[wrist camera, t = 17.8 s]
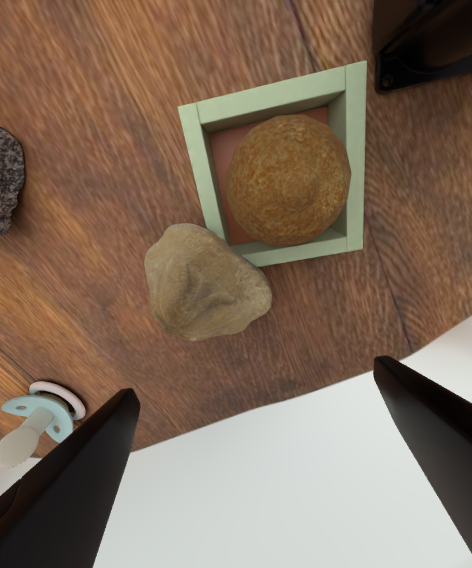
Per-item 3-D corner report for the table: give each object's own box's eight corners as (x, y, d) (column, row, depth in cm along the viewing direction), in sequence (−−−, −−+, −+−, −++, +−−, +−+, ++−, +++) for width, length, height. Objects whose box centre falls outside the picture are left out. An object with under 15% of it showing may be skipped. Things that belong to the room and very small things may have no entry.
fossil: (182, 190, 13) (140, 272, 20) (125, 231, 10) (101, 308, 18) (299, 295, 15) (220, 335, 22) (277, 356, 12) (195, 378, 19)
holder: (339, 85, 15) (367, 59, 12) (341, 236, 19) (362, 249, 15) (190, 120, 16) (176, 106, 12) (221, 257, 20) (217, 274, 16)
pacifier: (44, 367, 25) (13, 394, 27) (-13, 422, 19) (-49, 453, 21) (101, 406, 27) (69, 429, 29) (64, 466, 22) (27, 491, 23)
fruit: (219, 143, 16) (198, 116, 8) (317, 118, 15) (389, 64, 8) (239, 237, 18) (237, 279, 11) (324, 219, 17) (383, 251, 10)
